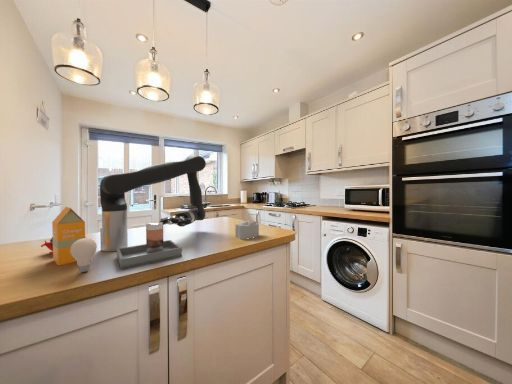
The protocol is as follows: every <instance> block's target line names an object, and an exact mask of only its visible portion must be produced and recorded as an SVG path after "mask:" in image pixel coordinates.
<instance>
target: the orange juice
mask: <svg viewBox="0 0 512 384" xmlns="http://www.w3.org/2000/svg"><path fill="white" fill-rule="evenodd" d="M51 225H52V237H53V251H52V252H53V254H52V259H53V260H54V261H55V262H56V263H57V264H56V263H55V262H54V261H53V262H54V263H55V264H56V265H57V266H58V265H59V266H62V265H67V264H72V263H77V262H76V260H75V259H74V257H73V256H72V255H71V253H70V249H71V246H72V244H73V243H74V242H76V241H77V240H79V239H83V238H86V222H85V220H83V219H82V218H81V217H80V216H79V215H78V214H77V213H76V212H75V211H74V210H73V208H72V207H68V206H65V207H64V208H63V209H62V210H61V212H59V214H58V215H57V216H56V217H55V218H54V219H53V220H52V221H51Z"/></svg>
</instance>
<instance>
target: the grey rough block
mask: <svg viewBox="0 0 512 384" xmlns="http://www.w3.org/2000/svg"><path fill="white" fill-rule="evenodd" d="M259 225H260V224H259V222H257V221H255V220H246V219H245V220H241V221H239V222H237V223H235V225H234V226H235V228H234V229H235V231H234V232H235V238H237V237H238V238H237V239H239V238H240V239H239V240H242V239H245V240H248V239H247V238H253V237H257V236H258V235H259V236H260V231H259V230H260V227H259ZM259 236H258V237H259ZM258 237H257V238H258ZM253 239H254V238H253Z"/></svg>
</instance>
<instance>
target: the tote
mask: <svg viewBox="0 0 512 384" xmlns="http://www.w3.org/2000/svg"><path fill="white" fill-rule="evenodd" d="M182 249H183V248H182V247H181V246H180V245H178V244H177V243H175V242H174V241H173V240H171V239H170V240H169V239H168V240H163V251H159V252H153V253H148V254H147V247H146V243H145V244H144V243H143V244H138V245H137V244H136V245H132V246H128V247H125V248H119V249H117V251H116V259H117V262H118V264H119V267H120V270H121V271H122V270H126V269H127V270H128V269H130V268H131V269H132V268H135V267H140V266H144V265H145V266H146V265H148V264H154V263H158V262H163V261H168V260H172V259H177V258H180V257H183V256H182V253H183V251H182Z"/></svg>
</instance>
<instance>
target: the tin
mask: <svg viewBox="0 0 512 384" xmlns="http://www.w3.org/2000/svg"><path fill="white" fill-rule="evenodd" d="M145 224H146V225H145V227H146V228H145V232H146V233H145V234H146V235H145V242H146V243H145V244H146V247H147V254H148V253H153V252H159V251H163V241H164V225H163V223H162V222H159V221H158V222H157V221H156V222H155V221H153V222H149V223H145Z"/></svg>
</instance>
